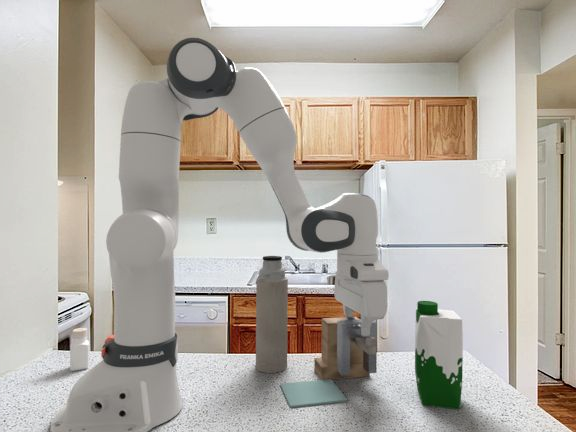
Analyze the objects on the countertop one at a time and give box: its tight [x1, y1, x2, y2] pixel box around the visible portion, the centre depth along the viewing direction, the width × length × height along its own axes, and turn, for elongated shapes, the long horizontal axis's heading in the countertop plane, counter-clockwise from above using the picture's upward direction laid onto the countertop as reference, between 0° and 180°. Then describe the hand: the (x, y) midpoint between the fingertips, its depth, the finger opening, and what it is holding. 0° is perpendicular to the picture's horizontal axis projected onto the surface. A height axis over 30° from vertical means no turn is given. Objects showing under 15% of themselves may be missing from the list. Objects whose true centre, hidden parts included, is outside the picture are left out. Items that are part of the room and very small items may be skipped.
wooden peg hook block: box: [313, 316, 376, 381], centre depth 83 cm, size 12×20×14 cm, turn 13°
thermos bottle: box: [255, 255, 289, 374], centre depth 93 cm, size 8×8×28 cm
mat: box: [279, 379, 348, 409], centre depth 79 cm, size 12×10×1 cm
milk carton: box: [414, 300, 464, 410], centre depth 77 cm, size 9×9×20 cm
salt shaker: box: [69, 327, 90, 372], centre depth 91 cm, size 4×4×10 cm
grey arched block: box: [337, 318, 378, 376], centre depth 81 cm, size 8×3×11 cm, turn 103°
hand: (356, 329), depth 81 cm, fingers open, 6 cm apart
